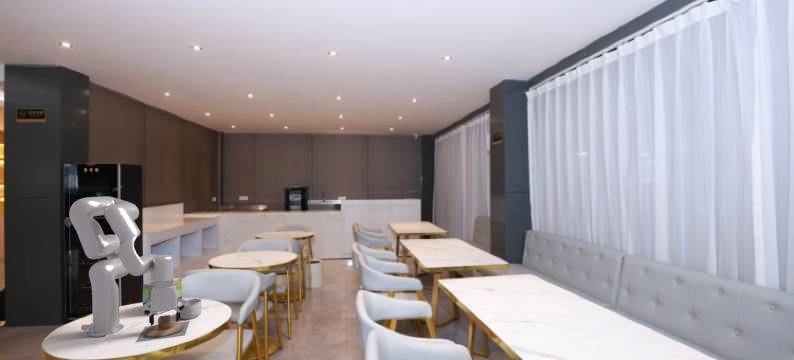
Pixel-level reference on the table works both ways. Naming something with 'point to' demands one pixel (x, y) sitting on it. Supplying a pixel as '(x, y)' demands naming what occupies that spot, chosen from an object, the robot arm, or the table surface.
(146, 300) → the tea box
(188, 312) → the teacup
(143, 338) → the slate mat
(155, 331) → the walnut lid
